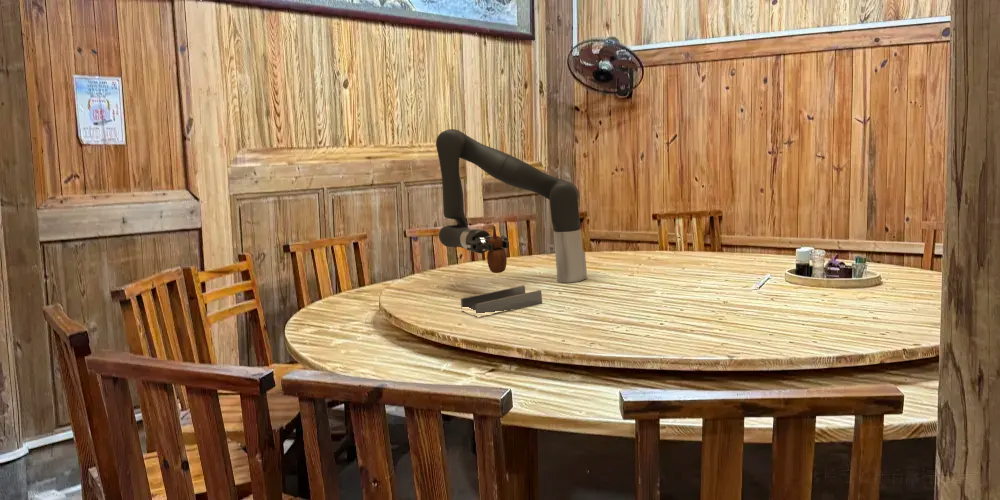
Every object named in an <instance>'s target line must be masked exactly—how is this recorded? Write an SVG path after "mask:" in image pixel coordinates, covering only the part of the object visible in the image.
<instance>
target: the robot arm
mask: <svg viewBox="0 0 1000 500" xmlns="http://www.w3.org/2000/svg"><path fill="white" fill-rule="evenodd" d="M435 146H436V151H437V156H438V161H439V166H440V172H441V184H442V185H441V186H442V187H441V188H442V209H443V210H442V211H443V216H444V217H445V219H449V220H455V222H456V224H453V225H452V224H451V225H445V226H443V227H441V228H440V230H439V232H438V239H439V242H440V244H442V245H443V247H447V248H461V249H465V250H466V251H470V252H474V253H477V254H484V253H486V252H489V251H493V245H492V244H491V243H488V239H489V238H490V237H493V235H491V234H490V233H489V232H488V231H486V230H484V229H479V228H474V227H469V226H468V223H467V218H466V215H465V209H464V207H465V206H464V205H465V204H464V192H463V191H464V190H463V185H462V181H461V176H460V159H462V160H463V161H467V162H470V163H472V164H474V165H475V166H477V167H479V168H480V169H482V171H483V172H485V173H486V174H487V175H489V176H490V177H492V178H494V179H496V180H498V181H500V182H502V183H504V184H506V185H509V186H512V187H514V188H518V189H521V190H525V191H530V192H532V193H536V194H538V195H540V196H542V197H543V198H546V199H547V200H549V208H550V209H549V210H550V217H551V224H552V230H553V243H554V253H555V254H554V255H555V263H556V265H555V266H556V277H557V278H556V279H557V282H559V283H577V282H580V281H583V280H585V279H588V272H587V257H586V251H585V250H584V249H583V241H582V228H581V220H580V219H581V218H580V210H579V201H578V200H579V198H580V196H579V195H580V194H579V189H578V188H577V186H576V185H575V184H574V183H572V182H571V181H568V180H565V179H563V178H562V179H561V178H559V177H555V176H553V175H550V174H548V173H545V172H543V171H542V170H540V169H537V168H536V167H534V166H532V165H531V164H529V163H527V162H525V161H523V160H522V159H519V158H517V157H515V156H513V155H511V154H510V153H509V154H508V153H507V152H504V151H501V150H499V149H496V148H494V147H490V146H489V145H488V146H487V145H485V144H483V143H481V142H479V141H477V140H476V139H474V138H472V137H470V136H468V135H467V134H466V133H464V132H462V131H461V130H458V129H457V128H456V129H455V128H450V129H445V130H444V131H441V132H440V133H439V134H438V135H437V137H436V140H435ZM499 237H501V238H502V240H503V246H502V247H501V248H503V249H508V248H509V246H510V245H509V244H510V242H509V238H508V237H507V236H505V235H500V236H499Z"/></svg>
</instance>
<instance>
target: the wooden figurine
mask: <svg viewBox="0 0 1000 500" xmlns="http://www.w3.org/2000/svg"><path fill="white" fill-rule="evenodd" d="M496 230H497V229H496V225H494V226H493V229H492V237H490V238H489V239H488V243H491V244H492V245H493V251H487V257H486V258H487V259H486V260H487V265H488V269H489V271H490V272H491V273H494V274H501V273H503V272H505V270H506V268H507V263H508V262H507V259H508V258H507V254H506V250H505V248H503V247H502V246H503V240H502V238H501V237H500V236H499V235H497V231H496Z"/></svg>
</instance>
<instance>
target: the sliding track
mask: <svg viewBox="0 0 1000 500" xmlns="http://www.w3.org/2000/svg"><path fill="white" fill-rule="evenodd" d="M540 304H541V305H542V304H543V294H542V290H540V289H538V290H536V291H530V292H526V286H525V285H519V286H513V287H509V288H508V287H507V288H505V289H500V290H495V291H491V292H486V293H481V294H476V295H471V296H467V297H466V296H465V297H462V298H460V306H461V308H462V307H469V308H471V309H473V310H476V313H485V312H495V311H504V310H511V309H515V310H519V309H523V308H527V307H532V306H536V305H540ZM511 311H512V310H511Z"/></svg>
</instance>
